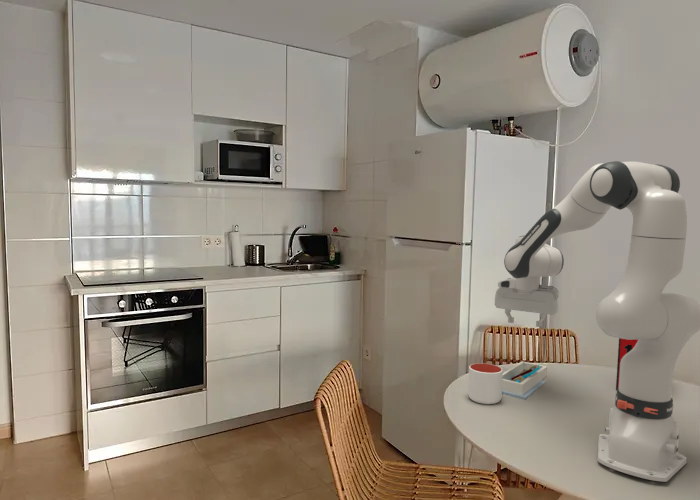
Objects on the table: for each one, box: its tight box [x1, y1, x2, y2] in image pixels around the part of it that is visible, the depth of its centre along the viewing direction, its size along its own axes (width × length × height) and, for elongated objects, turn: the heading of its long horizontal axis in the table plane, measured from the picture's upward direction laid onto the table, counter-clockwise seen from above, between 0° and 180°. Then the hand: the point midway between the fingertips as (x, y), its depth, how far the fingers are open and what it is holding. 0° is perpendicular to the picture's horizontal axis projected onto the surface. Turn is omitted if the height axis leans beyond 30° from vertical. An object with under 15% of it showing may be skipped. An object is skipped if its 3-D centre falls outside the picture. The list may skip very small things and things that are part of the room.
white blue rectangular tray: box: [502, 360, 548, 400], centre depth 166 cm, size 27×12×4 cm, turn 141°
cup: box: [467, 362, 504, 405], centre depth 152 cm, size 10×10×10 cm
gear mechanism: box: [511, 360, 540, 383], centre depth 166 cm, size 20×5×9 cm
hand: (524, 324), depth 165 cm, fingers open, 8 cm apart
